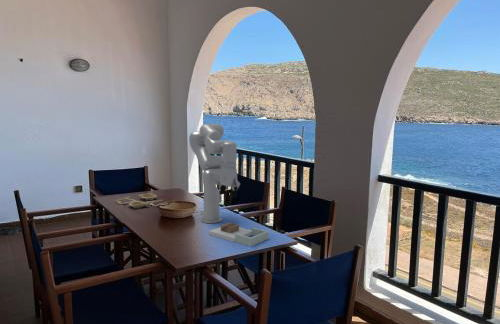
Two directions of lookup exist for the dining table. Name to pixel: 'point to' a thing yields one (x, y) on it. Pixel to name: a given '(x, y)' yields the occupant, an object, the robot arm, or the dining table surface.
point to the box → (258, 237)
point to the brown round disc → (229, 227)
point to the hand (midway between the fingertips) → (228, 195)
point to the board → (229, 236)
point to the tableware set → (140, 204)
